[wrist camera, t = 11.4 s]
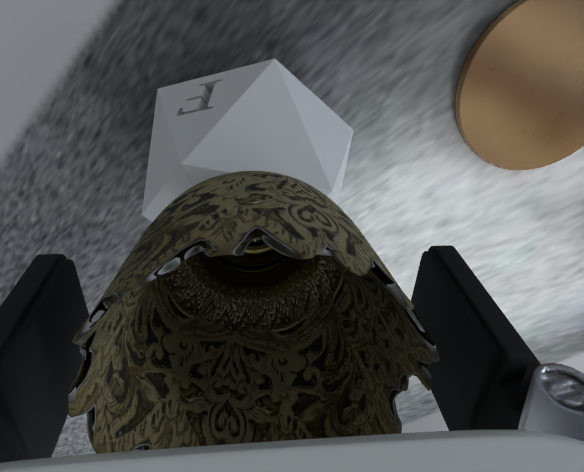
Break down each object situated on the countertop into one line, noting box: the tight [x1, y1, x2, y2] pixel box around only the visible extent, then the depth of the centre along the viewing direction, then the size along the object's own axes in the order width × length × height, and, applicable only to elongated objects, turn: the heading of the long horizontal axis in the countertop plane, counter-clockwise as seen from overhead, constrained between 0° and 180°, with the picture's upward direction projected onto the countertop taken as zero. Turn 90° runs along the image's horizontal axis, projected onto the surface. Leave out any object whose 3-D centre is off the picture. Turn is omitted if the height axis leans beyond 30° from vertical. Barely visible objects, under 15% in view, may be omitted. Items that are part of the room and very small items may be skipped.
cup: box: [67, 171, 439, 454], centre depth 12 cm, size 8×7×8 cm
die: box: [142, 59, 353, 222], centre depth 19 cm, size 8×9×10 cm
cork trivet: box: [455, 0, 584, 170], centre depth 22 cm, size 9×9×1 cm
